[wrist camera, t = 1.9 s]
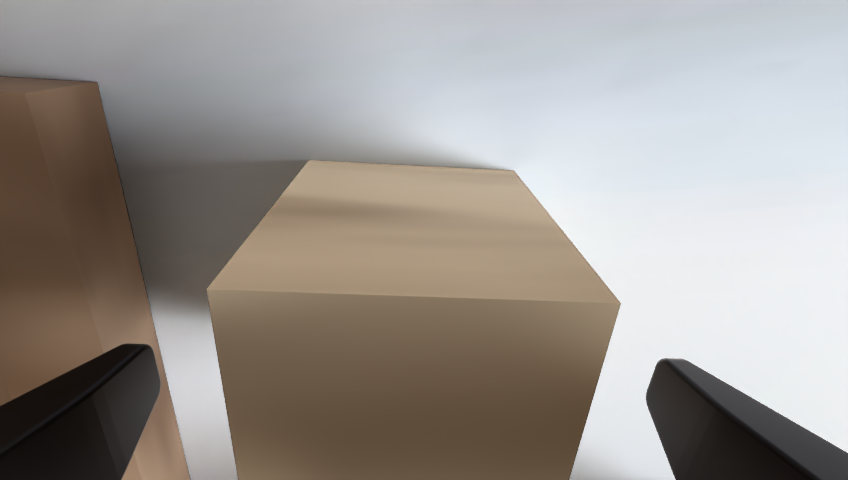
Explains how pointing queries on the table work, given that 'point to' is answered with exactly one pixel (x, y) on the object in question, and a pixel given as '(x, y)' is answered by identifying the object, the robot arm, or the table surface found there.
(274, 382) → the maple block
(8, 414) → the robot arm
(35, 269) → the tower base
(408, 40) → the table surface
